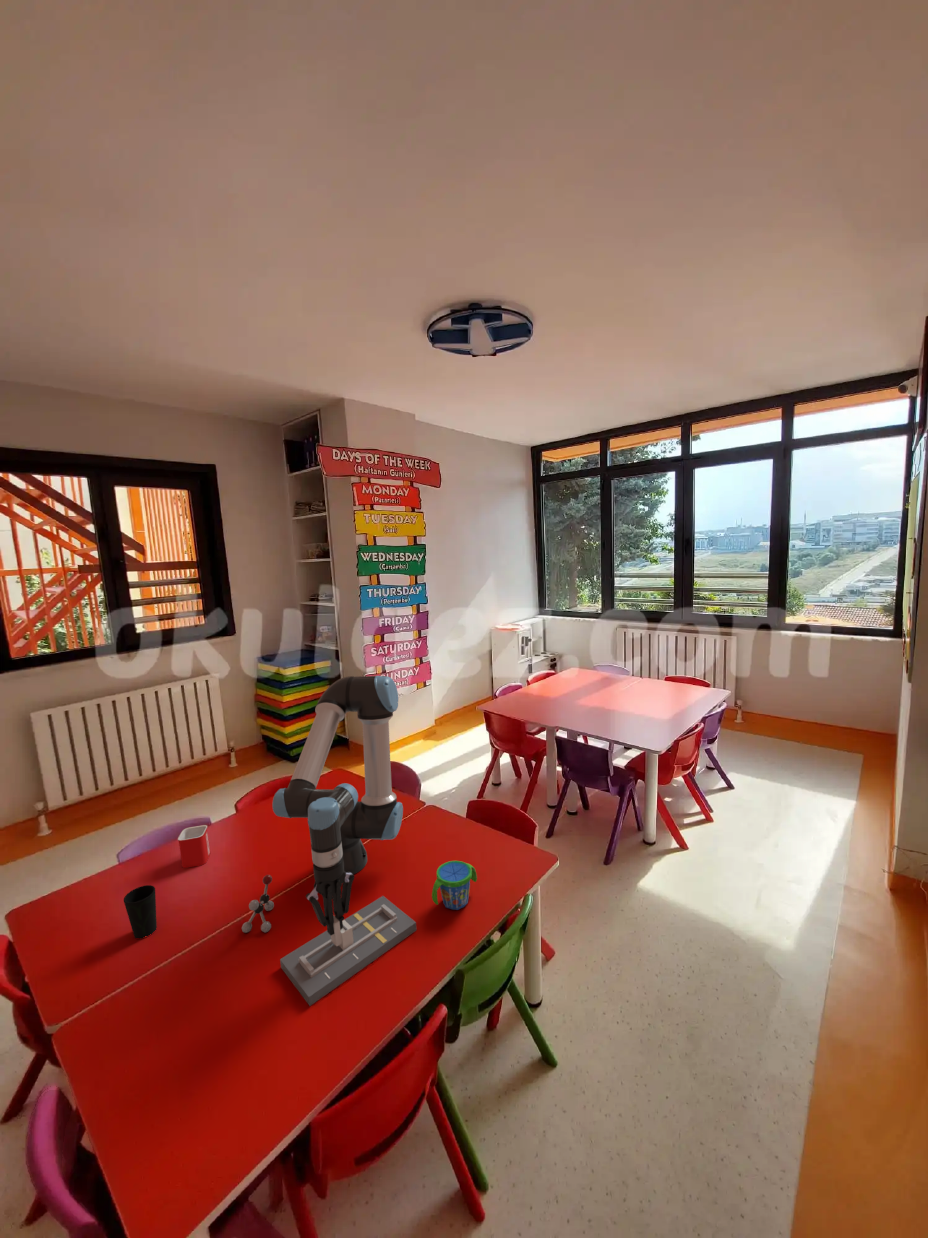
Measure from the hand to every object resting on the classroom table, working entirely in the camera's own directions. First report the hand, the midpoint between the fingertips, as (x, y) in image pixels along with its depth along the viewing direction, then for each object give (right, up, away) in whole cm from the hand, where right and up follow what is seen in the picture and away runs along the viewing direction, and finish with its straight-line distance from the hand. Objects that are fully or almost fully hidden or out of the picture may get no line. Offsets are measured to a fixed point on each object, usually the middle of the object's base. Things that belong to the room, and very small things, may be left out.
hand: (336, 942), depth 131 cm
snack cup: (+31, 0, +18) cm, 36 cm away
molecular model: (-26, -4, +16) cm, 30 cm away
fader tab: (+2, -1, +2) cm, 3 cm away
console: (+3, -4, +3) cm, 6 cm away
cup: (-59, -6, +13) cm, 61 cm away
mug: (-62, -1, +49) cm, 79 cm away
